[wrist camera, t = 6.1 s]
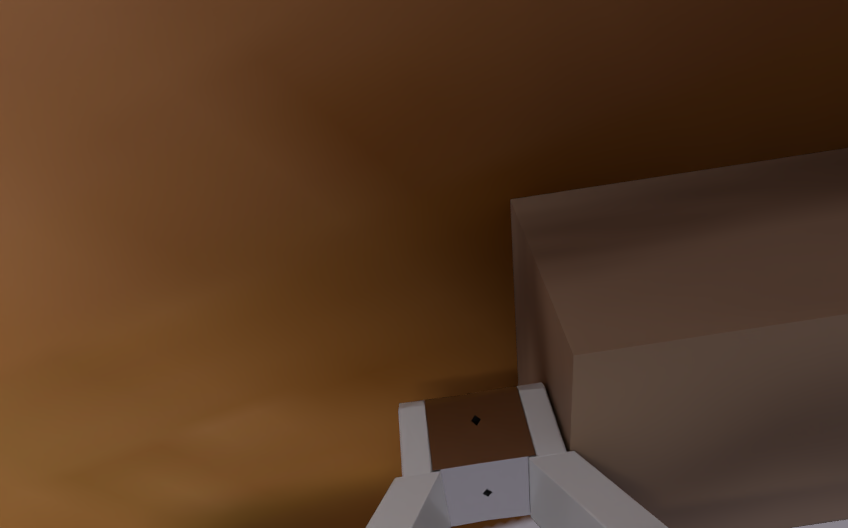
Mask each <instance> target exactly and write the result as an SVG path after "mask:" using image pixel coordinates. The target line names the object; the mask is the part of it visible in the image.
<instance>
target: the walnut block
mask: <svg viewBox="0 0 848 528" xmlns="http://www.w3.org/2000/svg"><path fill="white" fill-rule="evenodd" d="M510 205H511V228H512V251H513V274H514V297H515V320H516V343H517V366H518V386H521V385H527V384H534V383H540V382H542V384H543V385H544V386H545V388H546V391H547V394H548V397H549V400H550V403H551V406H552V409H553V412H554V415H555V418H556V421H557V424H558V427H559V430H560V433H561V436H562V439H563V442H564V445H565V448H566V451H567V452H569V451H575V452H576V453H578V454H579V455H580V456H581V457H583V458H584V459H585V460H586V461H587V462H589V463H590V464H591V465H592V466H594V467H595V468H596V469H597V470H598V471H600V472H601V473H602V474H603V475H605V476H606V477H607V478H608V479H609V480H611V481H612V482H613V483H614V484H616V485H617V486H618V487H619V488H620V489H622V490H623V491H624V492H625V493H627V494H628V495H629V496H630V497H631V498H633V499H634V500H635V501H636V502H638V503H639V504H640V505H641V506H642V507H644V508H645V509H646V510H647V511H649V512H650V513H651V514H652V515H653V516H655V517H656V518H657V519H658V520H660V521H661V522H662V523H663V524H664V525H666V526H667V527H668V528H792V527H799V526H805V525H812V524H819V523H826V522H832V521H839V520H846V519H848V148H844V149H837V150H831V151H824V152H818V153H811V154H805V155H798V156H792V157H785V158H779V159H772V160H765V161H759V162H752V163H746V164H739V165H733V166H726V167H720V168H713V169H706V170H700V171H693V172H687V173H680V174H674V175H667V176H661V177H654V178H647V179H641V180H634V181H628V182H621V183H615V184H608V185H602V186H595V187H588V188H582V189H575V190H569V191H562V192H556V193H549V194H543V195H536V196H529V197H523V198H516V199H510Z"/></svg>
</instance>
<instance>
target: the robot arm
mask: <svg viewBox="0 0 848 528" xmlns="http://www.w3.org/2000/svg"><path fill="white" fill-rule="evenodd" d="M398 413H399V430H400V446H401V462H402V477H397V478H395V479H394V480H393V482H392V484H391V485H390V487H389V489H388V490H387V492H386V494H385V496H384V497H383V499H382V501H381V502H380V504H379V506H378V508H377V509H376V511H375V513H374V514H373V516H372V518H371V519H370V521H369V523H368V525H367V526H366V528H451V527H452V526H458V525H464V524H469V523H475V522H480V521H486V520H492V519H500V518H509V517H517V516H525V515H531V518H532V519H533V520H534V521H535V522H536V523H537V524H538V525H539V527H540V528H668V527H667V526H666V525H664V524H663V523H662V522H661V521H660V520H658V519H657V518H656V517H655V516H653V515H652V514H651V513H650V512H649V511H647V510H646V509H645V508H644V507H642V506H641V505H640V504H639V503H638V502H636V501H635V500H634V499H633V498H631V497H630V496H629V495H628V494H627V493H625V492H624V491H623V490H622V489H620V488H619V487H618V486H617V485H616V484H614V483H613V482H612V481H611V480H609V479H608V478H607V477H606V476H605V475H603V474H602V473H601V472H600V471H598V470H597V469H596V468H595V467H594V466H592V465H591V464H590V463H589V462H587V461H586V460H585V459H584V458H583V457H581V456H580V455H579V454H578V453H576V452H575V451H569V452H567V451H566V448H565V445H564V442H563V439H562V436H561V433H560V430H559V427H558V424H557V421H556V418H555V415H554V412H553V409H552V406H551V403H550V400H549V397H548V394H547V391H546V388H545V386H544V385H543V384H542V382H540V383H534V384H527V385H521V386H517V387H516V386H511V387H505V388H499V389H493V390H487V391H481V392H475V393H469V394H467V395H459V396H451V397H443V398H435V399H427V400H421V401H414V402H406V403H399V410H398Z"/></svg>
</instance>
